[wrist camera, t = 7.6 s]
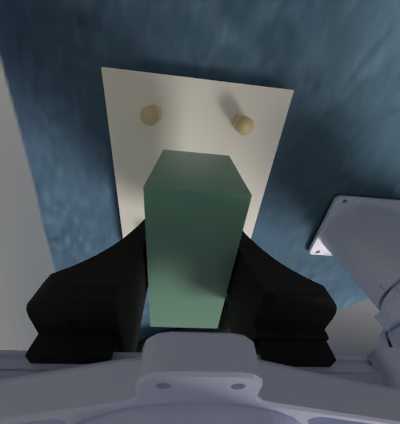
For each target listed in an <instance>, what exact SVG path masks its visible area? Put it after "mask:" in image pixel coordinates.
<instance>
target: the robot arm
mask: <svg viewBox="0 0 400 424" xmlns="http://www.w3.org/2000/svg"><path fill="white" fill-rule="evenodd" d="M344 199H345V200H344ZM343 200H344V201H343ZM342 201H343V202H342ZM317 250H318V251H317ZM308 251H309V253H310V254H313V255H331V256H334V258H335V259H336V260H337V261H338V262H339V264H340V265H341V266H342V267H343V268H344V269H345V271H346V272H347V273H348V274H349V275H350V276H351V278H352V279H353V280H354V281H355V282H356V283H357V285H358V286H359V287H360V288H361V289H362V290H363V292H364V293H365V294H366V295H367V296H368V297H369V299H370V300H371V301H372V302H373V303H374V304H375V306H376V307H377V308H378V309H379V310H380V312H379V313H378V314H377V315H376V316H375V318H376V320H377V321H378V322H379V323H380V325H381V326H382V327H383V328H384V329H383V330H382V332H381V334H380V341H381V345H382V347H379V348H375V349H373V350H372V351H371V352H370V353H369V354H368V356H334V355H333V353H332V351H331V349H330V347H329V345H328V343H327V342H326V340H328V339H329V338H328V335H327V333H326V331H325V330H324V329H325V328H326V326H327V325H328V324H329V322H330V321H331V320H332V319H333V317H334V315H335V314H336V309H337V307H336V304H335V302H334V301H333V299H332V298H331V296H330V295H329V293H328V292H327V290H326V289H325V288H324V286H322V285H320V284H318V283H316V282H314V281H312V280H310V279H308V278H305V277H303V276H302V275H300V274H298V273H296V272H294V271H292V270H291V269H289V268H287V267H286V266H284V265H283V264H281V263H280V262H278V261H277V260H275V259H274V258H272V257H271V256H270V255H268V254H267V253H266V252H265V251H263V250H262V249H261V248H260V247H259V246H258V245H256V244H255V243H254V242H253V241H252V240H251V239H250V238H249V237H248V236H247V235H246V234H245V233H244V231H243V232H242V236H241V239H240V243H239V247H238V251H237V255H236V259H235V263H234V266H233V270H232V274H231V278H230V282H229V286H228V289H227V297H228V306H229V317H230V329H231V333H213V332H173V331H171V332H162V333H157V334H155V335H153V336H151V337H150V338H148V339H147V340H146V341H145V343H144V346H143V349H142V353H136V349H137V343H138V337H139V331H140V325H141V320H142V314H143V309H144V303H145V298H146V293H147V288H148V269H147V249H146V230H145V219H144V220H143V221H142V222H141V223H140V224H139V225H138V226H137V227H136V228H135V229H134V230H133V231H131V232H130V233H129V234H128V235H127V236H125V237H124V238H123V239H122V240H120V241H119V242H117V243H116V244H114V245H113V246H111V247H110V248H108V249H106V250H105V251H103V252H101V253H99V254H98V255H96V256H94V257H92V258H90V259H88V260H85V261H83V262H81V263H79V264H76V265H74V266H72V267H69V268H66V269H64V270H61V271H58V272H56V273H53V274H51V275H50V276H49V277H48V278H47V279H46V281H45V282H44V283H43V284H42V286H41V287H40V288H39V290H38V291H37V292H36V293H35V295H34V296H33V297H32V299H31V300H30V301H29V302H28V304H27V308H26V310H27V313H28V316H29V318H30V320H31V321H32V323H33V325H34V326H35V328H36V330H37V331H38V333H39V334H38V336H37V337H36V339H35V340H34V342H33V344H32V345H31V347H30V348H29V350H28V351H17V350H16V351H15V350H0V424H400V200H392V199H380V198H368V197H356V196H344V195H338V196H336V197H335V198H334V200H333V202H332V204H331V206H330V208H329V210H328V212H327V214H326V216H325V218H324V220H323V222H322V224H321V226H320V228H319V230H318V232H317V234H316V236H315V238H314V240H313V242H312V244H311V246H310V248H309V250H308Z"/></svg>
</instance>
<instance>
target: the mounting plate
mask: <svg viewBox="0 0 400 424" xmlns="http://www.w3.org/2000/svg"><path fill="white" fill-rule="evenodd" d="M101 70H102V78H103V86H104V93H105V101H106V109H107V117H108V125H109V133H110V140H111V148H112V156H113V164H114V172H115V180H116V187H117V195H118V203H119V211H120V219H121V227H122V234H123V238H124V237H125V236H127V235H128V234H129V233H130V232H131V231H133V230H134V229H135V228H136V227H137V226H138V225H139V224H140V223H141V222H142V221H143V220H144V219H145V211H144V192H143V186H144V185H145V183H146V181H147V179H148V177H149V175H150V173H151V172H152V170H153V168H154V166H155V164H156V162H157V160H158V158H159V157H160V155H161V153H162V151H163V149H164V150H175V151H186V152H196V153H207V154H218V155H228V156H230V158H231V160H232V161H233V163H234V165H235V167H236V168H237V170H238V172H239V174H240V175H241V177H242V179H243V181H244V182H245V184H246V186H247V188H248V189H249V191H250V193H251V195H252V197H251V201H250V205H249V209H248V213H247V216H246V220H245V224H244V228H243V231H244V233H245V234H246V235H247V236H248V237H249V238H250V239H251V236H252V232H253V229H254V225H255V222H256V219H257V215H258V212H259V208H260V205H261V202H262V198H263V195H264V191H265V188H266V184H267V181H268V178H269V174H270V171H271V167H272V164H273V161H274V157H275V154H276V150H277V147H278V143H279V140H280V137H281V133H282V130H283V126H284V123H285V120H286V116H287V113H288V109H289V106H290V103H291V99H292V96H293V92H294V90H288V89H280V88H272V87H264V86H255V85H247V84H239V83H231V82H222V81H214V80H206V79H198V78H190V77H181V76H173V75H165V74H157V73H148V72H140V71H132V70H124V69H115V68H107V67H101Z"/></svg>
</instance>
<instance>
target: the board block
mask: <svg viewBox="0 0 400 424" xmlns="http://www.w3.org/2000/svg"><path fill="white" fill-rule="evenodd" d="M143 192H144V211H145V230H146V249H147V269H148V288H149V307H150V326H151V327H181V328H218V324H219V320H220V316H221V312H222V309H223V305H224V301H225V297H226V293H227V289H228V286H229V282H230V278H231V274H232V270H233V266H234V263H235V259H236V255H237V251H238V247H239V243H240V239H241V236H242V232H243V228H244V224H245V220H246V216H247V213H248V209H249V205H250V201H251V197H252V195H251V193H250V191H249V189H248V188H247V186H246V184H245V182H244V181H243V179H242V177H241V175H240V174H239V172H238V170H237V168H236V167H235V165H234V163H233V161H232V160H231V158H230V156H228V155H218V154H207V153H196V152H186V151H175V150H164V149H163V151H162V153H161V155H160V157H159V158H158V160H157V162H156V164H155V166H154V168H153V170H152V172H151V173H150V175H149V177H148V179H147V181H146V183H145V185H144V186H143Z"/></svg>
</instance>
